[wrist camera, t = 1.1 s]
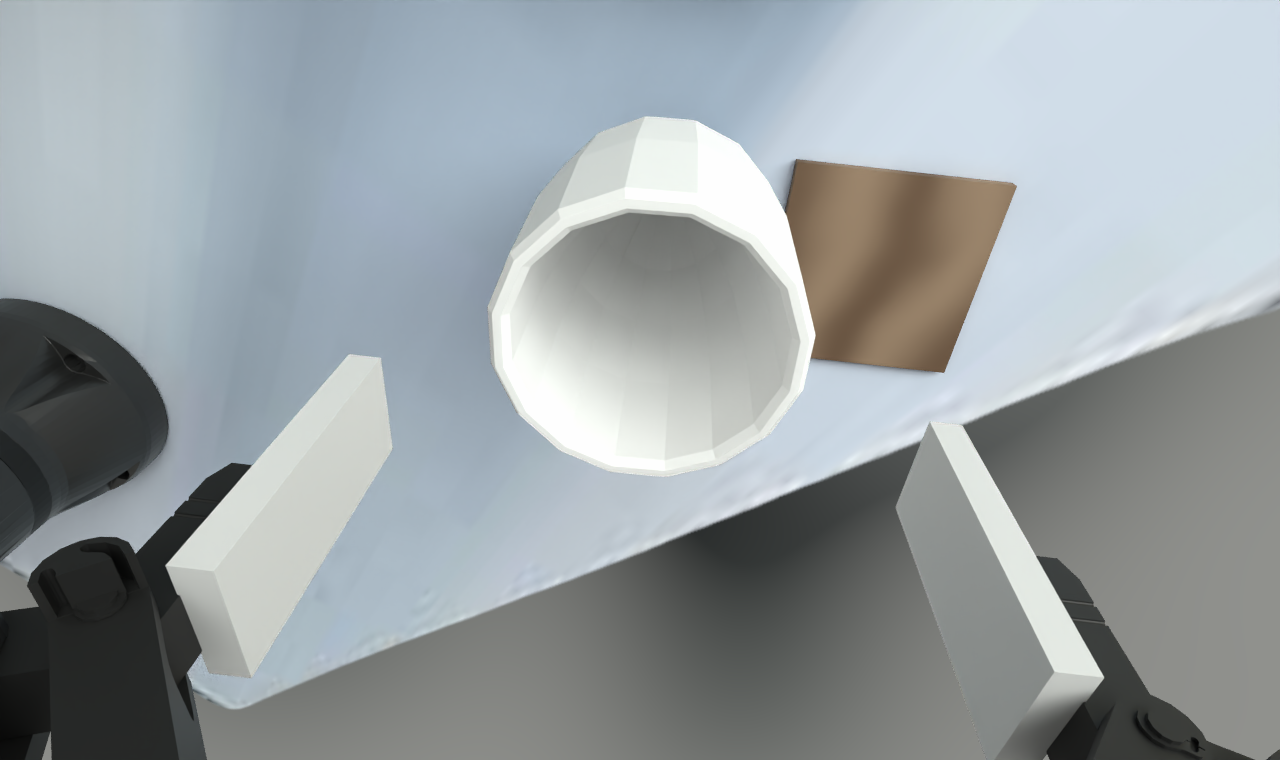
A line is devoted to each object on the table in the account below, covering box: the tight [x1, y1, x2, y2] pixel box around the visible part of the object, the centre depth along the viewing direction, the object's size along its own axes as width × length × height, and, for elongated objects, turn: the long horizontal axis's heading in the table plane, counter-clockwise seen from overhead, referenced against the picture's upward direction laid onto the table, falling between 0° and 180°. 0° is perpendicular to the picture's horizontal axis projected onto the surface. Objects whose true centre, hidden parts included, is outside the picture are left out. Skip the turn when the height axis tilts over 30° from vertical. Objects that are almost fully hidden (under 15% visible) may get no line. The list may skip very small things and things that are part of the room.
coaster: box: [785, 159, 1017, 373], centre depth 40 cm, size 12×12×1 cm
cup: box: [487, 116, 816, 477], centre depth 29 cm, size 10×10×22 cm
